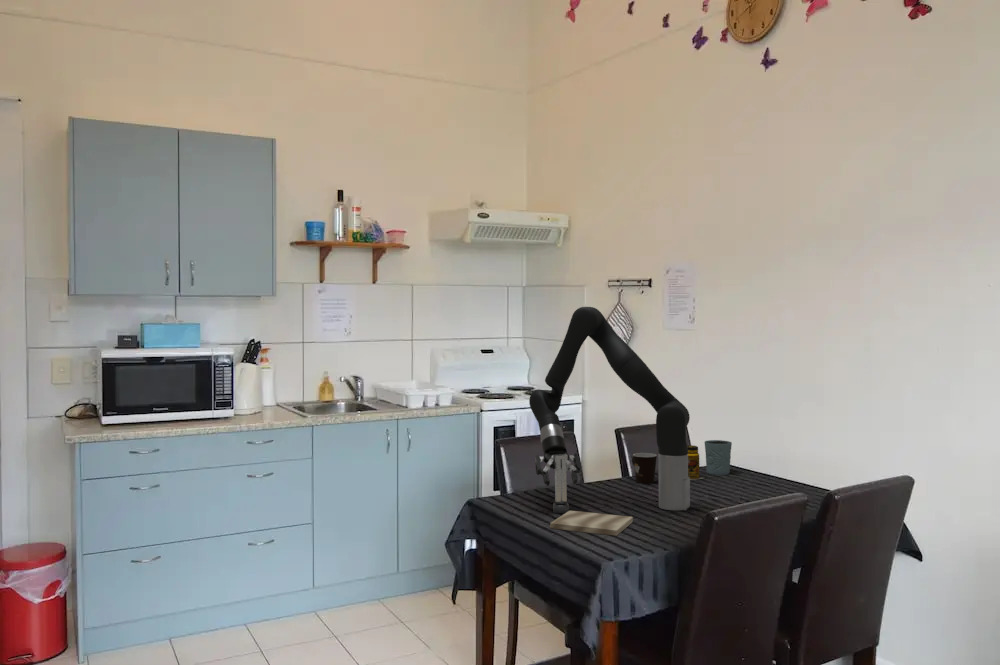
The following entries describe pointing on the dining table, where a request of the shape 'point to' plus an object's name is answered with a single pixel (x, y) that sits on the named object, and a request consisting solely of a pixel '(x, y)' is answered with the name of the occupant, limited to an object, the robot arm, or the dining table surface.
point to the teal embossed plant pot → (718, 457)
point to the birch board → (592, 522)
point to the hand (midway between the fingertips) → (561, 483)
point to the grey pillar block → (560, 485)
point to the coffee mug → (644, 467)
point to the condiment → (693, 463)
